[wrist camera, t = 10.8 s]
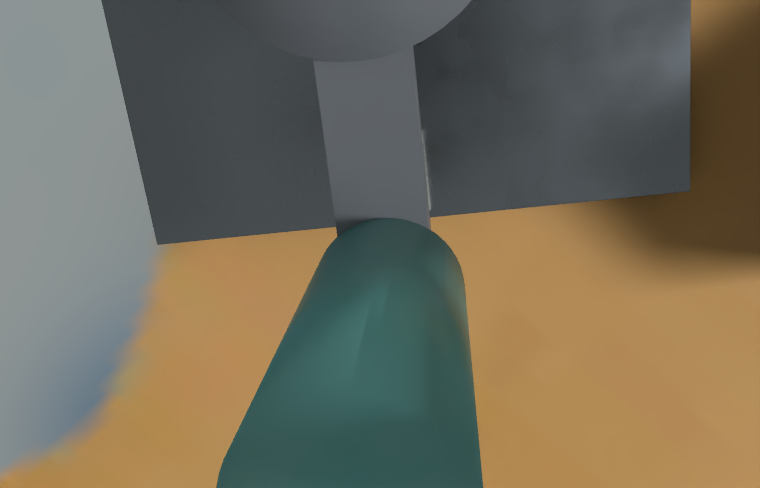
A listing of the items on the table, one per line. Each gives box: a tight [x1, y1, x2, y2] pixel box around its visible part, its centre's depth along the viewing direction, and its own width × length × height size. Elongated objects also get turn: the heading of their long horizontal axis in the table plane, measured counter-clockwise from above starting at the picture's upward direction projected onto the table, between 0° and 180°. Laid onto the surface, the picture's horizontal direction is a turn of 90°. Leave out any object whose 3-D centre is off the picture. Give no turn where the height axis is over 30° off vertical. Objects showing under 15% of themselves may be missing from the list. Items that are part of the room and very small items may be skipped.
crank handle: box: [214, 0, 483, 488], centre depth 14 cm, size 8×16×12 cm, turn 7°
